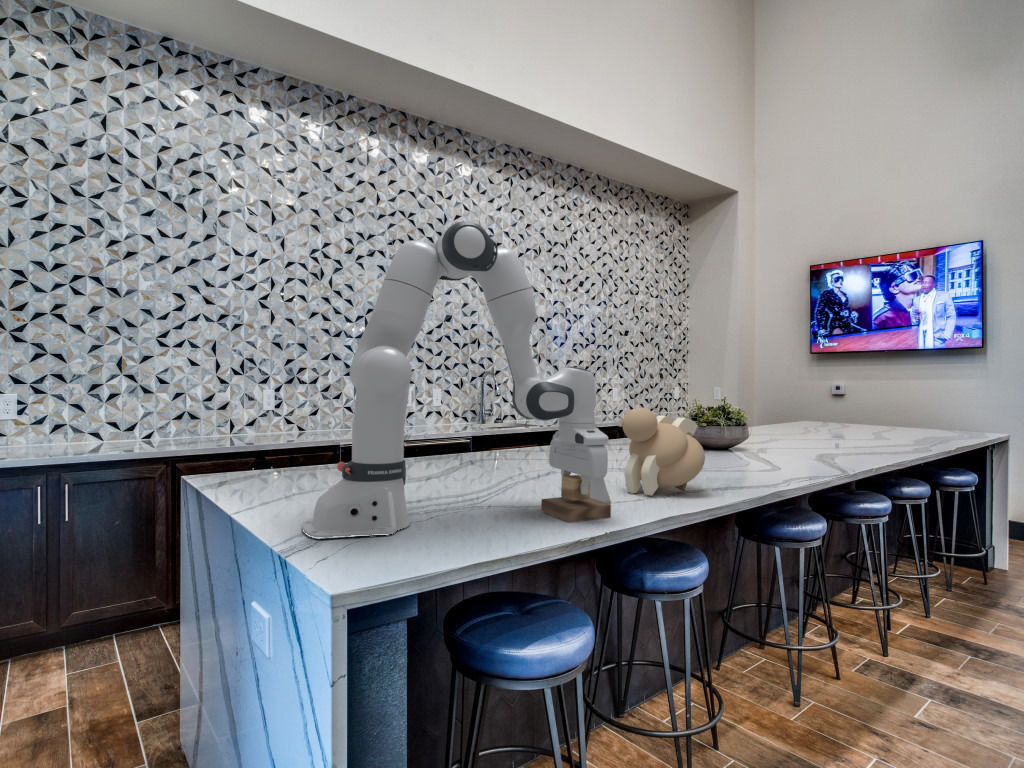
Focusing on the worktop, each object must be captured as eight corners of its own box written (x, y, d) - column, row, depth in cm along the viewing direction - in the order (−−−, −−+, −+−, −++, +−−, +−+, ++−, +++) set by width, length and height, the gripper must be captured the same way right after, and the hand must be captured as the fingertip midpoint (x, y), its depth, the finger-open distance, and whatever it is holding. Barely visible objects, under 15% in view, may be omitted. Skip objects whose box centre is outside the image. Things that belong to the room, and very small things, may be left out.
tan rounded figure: (635, 377, 179) (702, 379, 162) (667, 442, 192) (733, 449, 175) (585, 447, 164) (653, 457, 147) (624, 511, 177) (691, 527, 160)
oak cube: (572, 500, 137) (573, 479, 137) (561, 496, 142) (561, 476, 142) (590, 498, 139) (590, 478, 139) (578, 494, 144) (578, 474, 144)
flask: (609, 499, 158) (610, 463, 158) (611, 505, 151) (612, 467, 150) (583, 498, 159) (583, 462, 158) (583, 504, 151) (584, 466, 151)
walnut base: (568, 522, 132) (568, 509, 132) (541, 511, 143) (541, 499, 143) (610, 517, 138) (610, 504, 138) (581, 506, 149) (581, 495, 149)
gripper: (543, 430, 148) (542, 484, 148) (590, 438, 130) (589, 500, 130) (564, 429, 151) (563, 482, 151) (613, 438, 133) (611, 498, 133)
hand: (575, 491), depth 140 cm, fingers closed on oak cube, 5 cm apart
